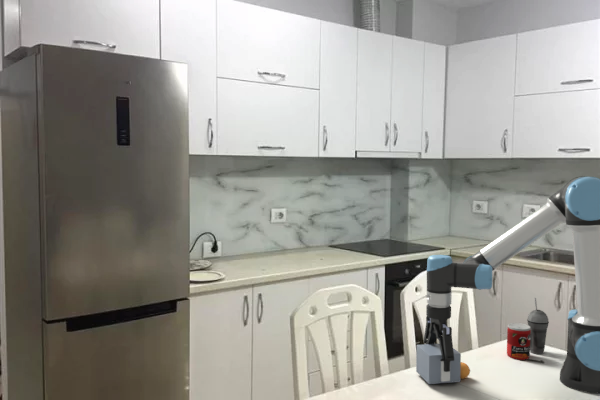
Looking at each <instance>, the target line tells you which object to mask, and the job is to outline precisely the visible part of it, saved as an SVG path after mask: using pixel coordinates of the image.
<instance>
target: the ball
mask: <svg viewBox="0 0 600 400" xmlns="http://www.w3.org/2000/svg"><path fill="white" fill-rule="evenodd" d="M470 373H471V370H470V367H469V365H468V364H467V363H465V362H464V361H463V362H461V370H460V380H461V379H462V380H463V379H464V380H465V379H466V378H468V377H469V376H470Z"/></svg>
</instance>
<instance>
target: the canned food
mask: <svg viewBox="0 0 600 400" xmlns="http://www.w3.org/2000/svg"><path fill="white" fill-rule="evenodd" d="M506 329H507V330H506V335H507V336H506V355H507V356H508V358H510V359H513V360H520V361H525V359H526V360H528V359H529V358H530V356H531V355H530V354H531V352H530V336H531V327H530V326H528V324H526V323H521V322H510V323H508V324H507V328H506Z"/></svg>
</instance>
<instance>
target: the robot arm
mask: <svg viewBox="0 0 600 400" xmlns="http://www.w3.org/2000/svg"><path fill="white" fill-rule="evenodd" d="M561 224H565V226H566V227H567V228H568V229H570V230H571V232H572V247H573V262H574V274H575V275H574V277H575V280H574V281H575V293H576V294H575V295H576V308H577V309H576V308H575V309H570V310H569V311H568V316H567V321H568V322H567V340H566V341H567V343H566V357H565V359H564V362H563V364H562V367H561V369H560V372H559V381H560V383H562V384H563V385H564V386H566V387H569V388H570V389H573V390H577V391H580V392H584V393H590V394H600V178H598V177H596V176H585V175H584V176H583V175H582V176H576V177H573V178H571V179H570V180H568V181H567V182H566V183H564V185H562V186H561V187H560V188H559V189H558V190H557V191H556V192H554V193H553V194H552V195H551V196H549V197H548V198H547V199H546V203H545V204H544V205H542V206H541V207H540V208H538V209H536V210H535V211H534V212H532V213H531V214H529V215H528V216H527V217H525V218H523V220H520V221H519V222H518V223H517V224H516V225H514V226H513V227H511V228H509V229H508V230H507V231H505V232H504V233H502V234H501V235H500V236H498V237H496V238H495V239H494V240H492V241H491V242H489V244H487V245H486V246H484V247H483V248H481V249H480V250H479V251H477V252H476V253H474V254H473V255H470V256H468V257H467V258H465V259H464V261H463V262H453V259H452V256H450V255H445V254H432V255H429V256H428V258H427V261H426V262H427V264H426V266H427V267H426V294H425V298H426V303H427V304H426V311H425V312H426V316H425V317H426V318H425V319H426V320H425V329H424V337H423V344H436V341H437V340H438V344H439V345H440V350H441V355H442V359H441V360H440V361H441V381H442V382H444V381H450V361H454V352H453V348H454V345H453V337H452V336H453V332H452V331H453V329H452V326H448V324H447V323H448V322H447V321H448V320H450V319H451V318H452V307H451V305H452V293H453V292H452V288H458V289H459V288H460V289H462V288H463V289H472V290H473V289H474V290H491V289H492V287H493V272H494V271H495V270H496V269H497V268H498V267H500V266H502V265H503V264H504V263H506V262H507V261H509V260H510V259H512V258H513V257H515V256H516V255H518V254H519V253H521V252H522V251H523V250H525V249H526V248H528V247H529V246H531V245H533V244H534V243H536V242H537V241H538V240H540V239H541V238H543V237H544V236H546V235H547V234H549V233H550V232H551V231H553V230H555V229H556V228H558V227H559V226H561Z"/></svg>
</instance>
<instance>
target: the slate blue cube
mask: <svg viewBox="0 0 600 400" xmlns="http://www.w3.org/2000/svg"><path fill="white" fill-rule="evenodd" d="M453 352H454V361H450V381H444V382H442V381H441V361H440V360H441V359H442V355H441V350H440V345H439V343H435V344H424V343H423V344H416V352H415V353H416V359H415V361H416V362H415V363H416V364H415V365H416V368H415V369H416V373H417V374H418V375H419V376H420V377H421V378H422V379H423V380H424V381H425V382H426V383H427V384H428V385H432V384H433V385H434V384H436V385H437V384H447V383H448V384H450V383H460V382H461V379H460V370H461V361H462V359H461V358H462V356H461V355H462V353H461V352H459V351H458V350H457V349H456V348H454V347H453Z"/></svg>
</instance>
